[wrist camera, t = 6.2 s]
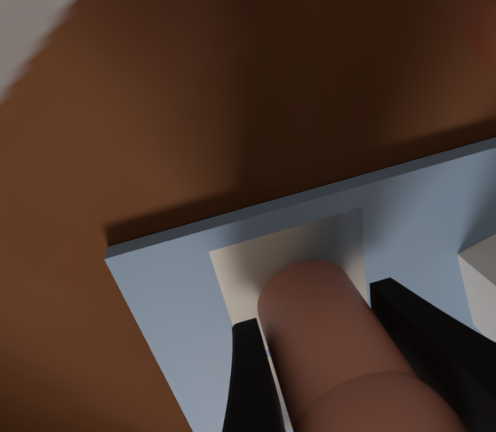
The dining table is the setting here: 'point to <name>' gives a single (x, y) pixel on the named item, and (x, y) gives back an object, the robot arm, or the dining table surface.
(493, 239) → the die
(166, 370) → the board
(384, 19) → the dining table surface
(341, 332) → the pawn
